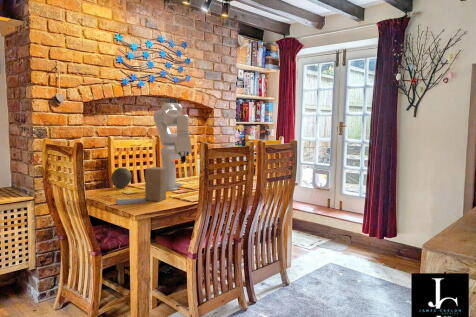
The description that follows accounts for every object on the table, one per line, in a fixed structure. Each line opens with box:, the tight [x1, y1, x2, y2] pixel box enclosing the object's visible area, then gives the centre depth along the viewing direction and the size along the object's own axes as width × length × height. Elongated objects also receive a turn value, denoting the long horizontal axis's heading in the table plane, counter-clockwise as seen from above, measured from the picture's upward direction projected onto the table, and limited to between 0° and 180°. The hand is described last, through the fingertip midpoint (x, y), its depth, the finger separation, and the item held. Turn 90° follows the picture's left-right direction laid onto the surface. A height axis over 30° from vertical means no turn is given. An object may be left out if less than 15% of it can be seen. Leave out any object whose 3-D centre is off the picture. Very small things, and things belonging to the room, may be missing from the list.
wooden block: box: [144, 166, 167, 202], centre depth 226 cm, size 10×10×20 cm
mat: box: [115, 197, 148, 206], centre depth 221 cm, size 17×14×1 cm
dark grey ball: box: [110, 167, 133, 189], centre depth 265 cm, size 14×14×15 cm
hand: (183, 162), depth 231 cm, fingers closed
